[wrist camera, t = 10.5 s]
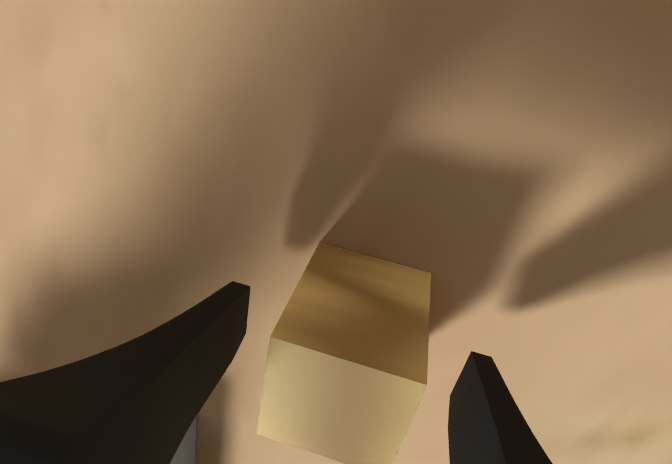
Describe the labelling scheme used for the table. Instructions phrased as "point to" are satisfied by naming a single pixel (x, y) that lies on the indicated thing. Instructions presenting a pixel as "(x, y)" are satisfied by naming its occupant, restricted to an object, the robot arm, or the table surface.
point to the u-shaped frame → (187, 447)
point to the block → (348, 358)
